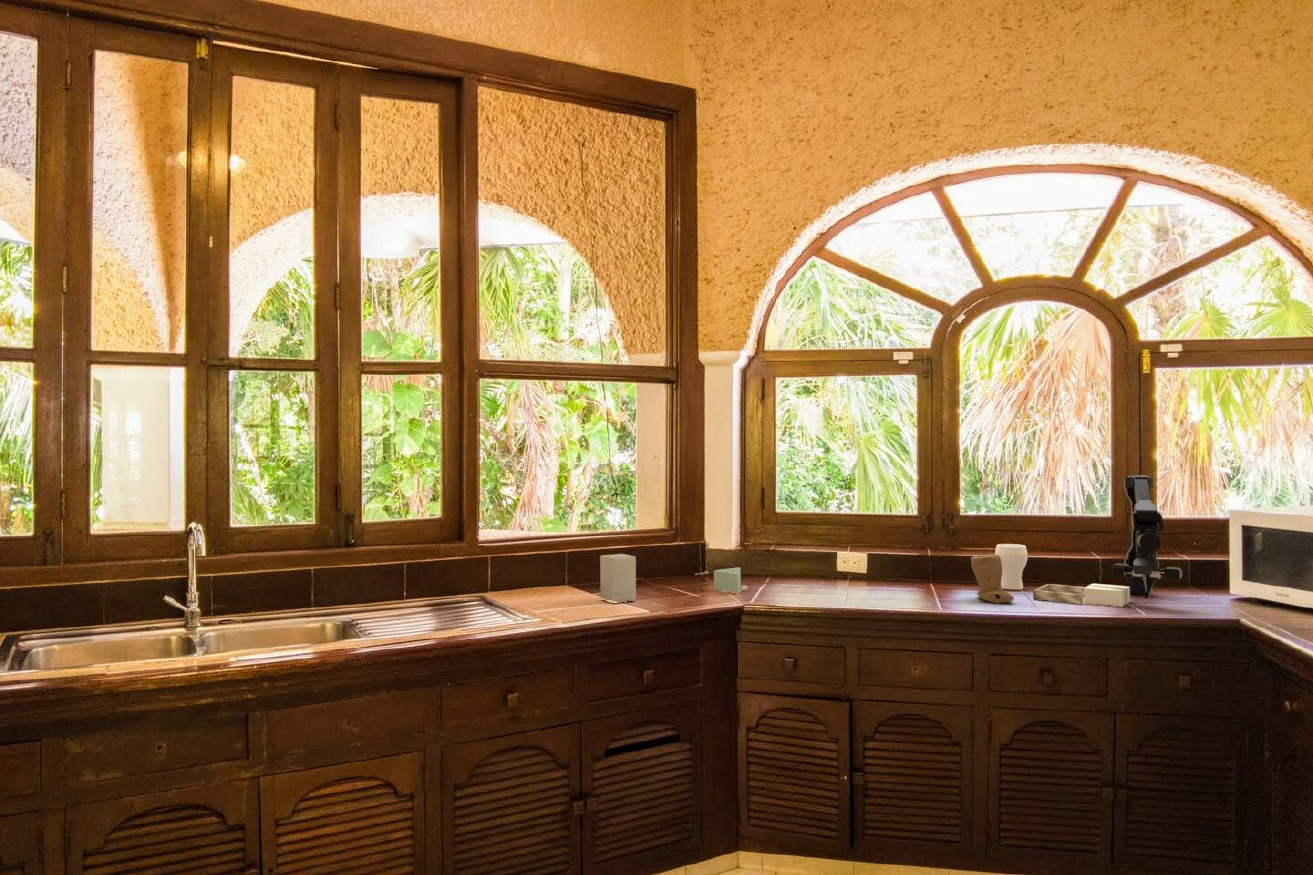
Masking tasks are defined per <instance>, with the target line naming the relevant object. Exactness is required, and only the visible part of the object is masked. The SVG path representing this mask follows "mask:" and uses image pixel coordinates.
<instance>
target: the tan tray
mask: <svg viewBox="0 0 1313 875" xmlns="http://www.w3.org/2000/svg"><path fill="white" fill-rule="evenodd" d="M1084 588H1085V586H1075V585H1074V586H1073V585H1064V584H1063V585H1062V584H1051V583H1047V584H1044V585H1041V586H1040V587H1038V588H1035V589H1033V590H1032V591H1033V592H1032V593H1033V594H1032V596H1033V597H1032V599H1034V600H1033V601H1042V600H1050V601H1049V602H1052V601H1057V602H1056V603H1062V602H1067V603H1066V604H1072V603H1076V604H1075V605H1084Z"/></svg>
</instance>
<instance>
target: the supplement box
mask: <svg viewBox="0 0 1313 875" xmlns="http://www.w3.org/2000/svg"><path fill="white" fill-rule="evenodd" d="M599 560H600V561H599V563H600V565H599V566H600V567H599V568H600V576H599V577H600V579H599V580H600V583H599V584H600V599H601V598H603V599H606V600H612V601H617V600H618V601H619V600H635V599H637V590H636V588H637V586H636V585H637V576H636V575H637V574H636V572H637V568H636V567H637V566H636V565H637V564H636V555H635V556H634V555H629V554H626V553H625V554H624V553H617V554H602V555H600V556H599Z"/></svg>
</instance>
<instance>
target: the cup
mask: <svg viewBox="0 0 1313 875" xmlns="http://www.w3.org/2000/svg"><path fill="white" fill-rule="evenodd" d="M994 551H995V552H994V554H995V555H996V554H998V555H999V556H1000V557H1001V562H1002V578H1001V588H1002V590H1016V591H1017V590H1023V589H1024V584H1023V579H1022V578H1023V571H1024V569H1025V567H1026V566H1027V562H1028V550H1027V546H1026V545H1023V544H1017V543H1016V544H1015V543H999V544H997V545H996V546H995V550H994Z"/></svg>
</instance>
